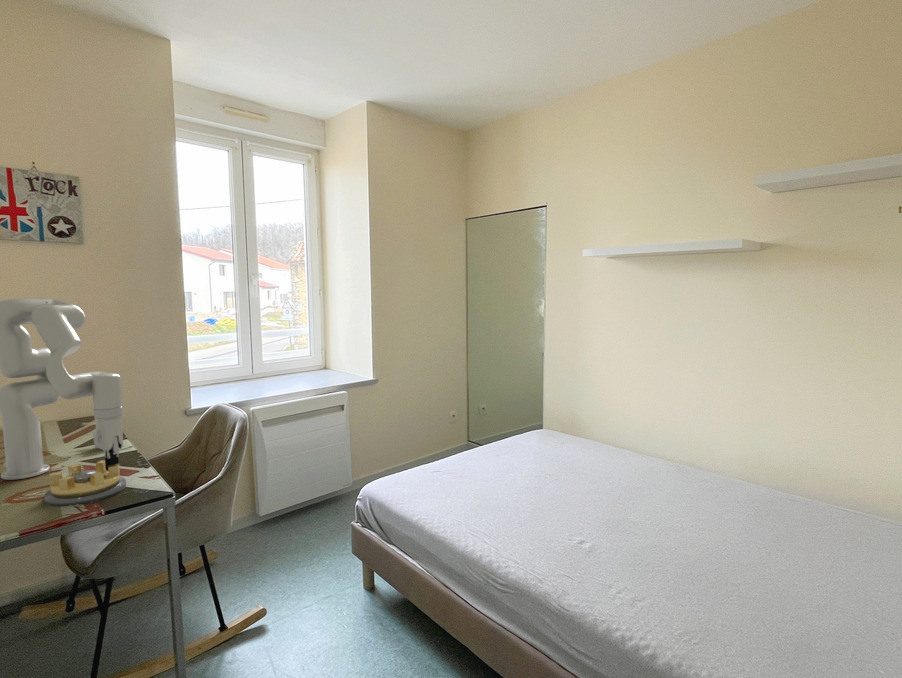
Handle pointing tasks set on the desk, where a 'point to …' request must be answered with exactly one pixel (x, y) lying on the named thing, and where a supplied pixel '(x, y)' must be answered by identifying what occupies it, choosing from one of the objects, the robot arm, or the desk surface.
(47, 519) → the desk surface
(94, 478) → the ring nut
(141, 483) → the desk surface
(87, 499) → the base plate
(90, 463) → the desk surface
